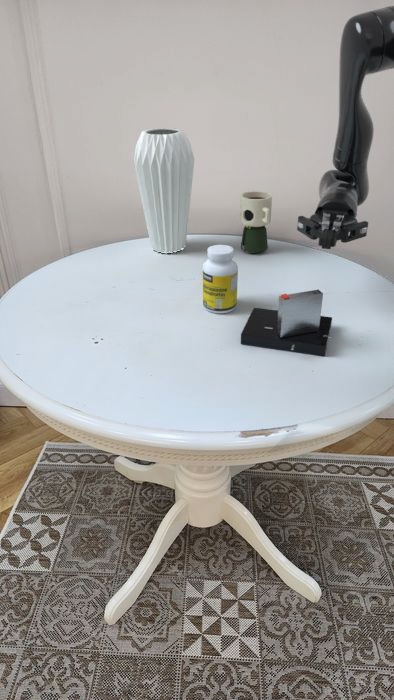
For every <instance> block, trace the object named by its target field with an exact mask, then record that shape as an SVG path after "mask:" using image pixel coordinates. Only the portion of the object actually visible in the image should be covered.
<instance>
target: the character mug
mask: <svg viewBox="0 0 394 700" xmlns="http://www.w3.org/2000/svg"><path fill="white" fill-rule="evenodd" d="M239 200H240V202H239V207H240V214H239V222H240V224H241V225H243V226H244V227H243V230H242V235H241V244H240V249H241V250H243V251H244V252H245V253H249V254H257V253H260V252H264V251H266V250H267V249H268V248H269V247H268V246H269V245H268V233H267V226H269V224H271V221H272V206H273V194H272V193H270V192H267V191H261V190H250V191H249V190H248V191H244V192H242V193H241V194H240V199H239Z"/></svg>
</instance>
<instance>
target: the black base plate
mask: <svg viewBox="0 0 394 700" xmlns="http://www.w3.org/2000/svg"><path fill="white" fill-rule="evenodd" d="M277 321H278V309H269V308H261V307H255V306H254V307H253V309H252V310H251V312H250V315H249V316H248V319H247V320H246V323H245V325H244V326H243V329H242V331H241V333H240V345H245V346H251V347H257V348H264V349H271V350H278V351H284V352H285V351H286V352H292V353H299V354H305V355H313V356H320V357H326V353H327V348H328V343H329V339H332V338H333V335H331V330H332V324H333V317H331V316H326V315H325V316H324V315H321V316H320V325H319V331H317V332H311V333H306V334H300V335H295V336H289V337H284V338H280V337H279V336H278V335H277Z"/></svg>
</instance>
